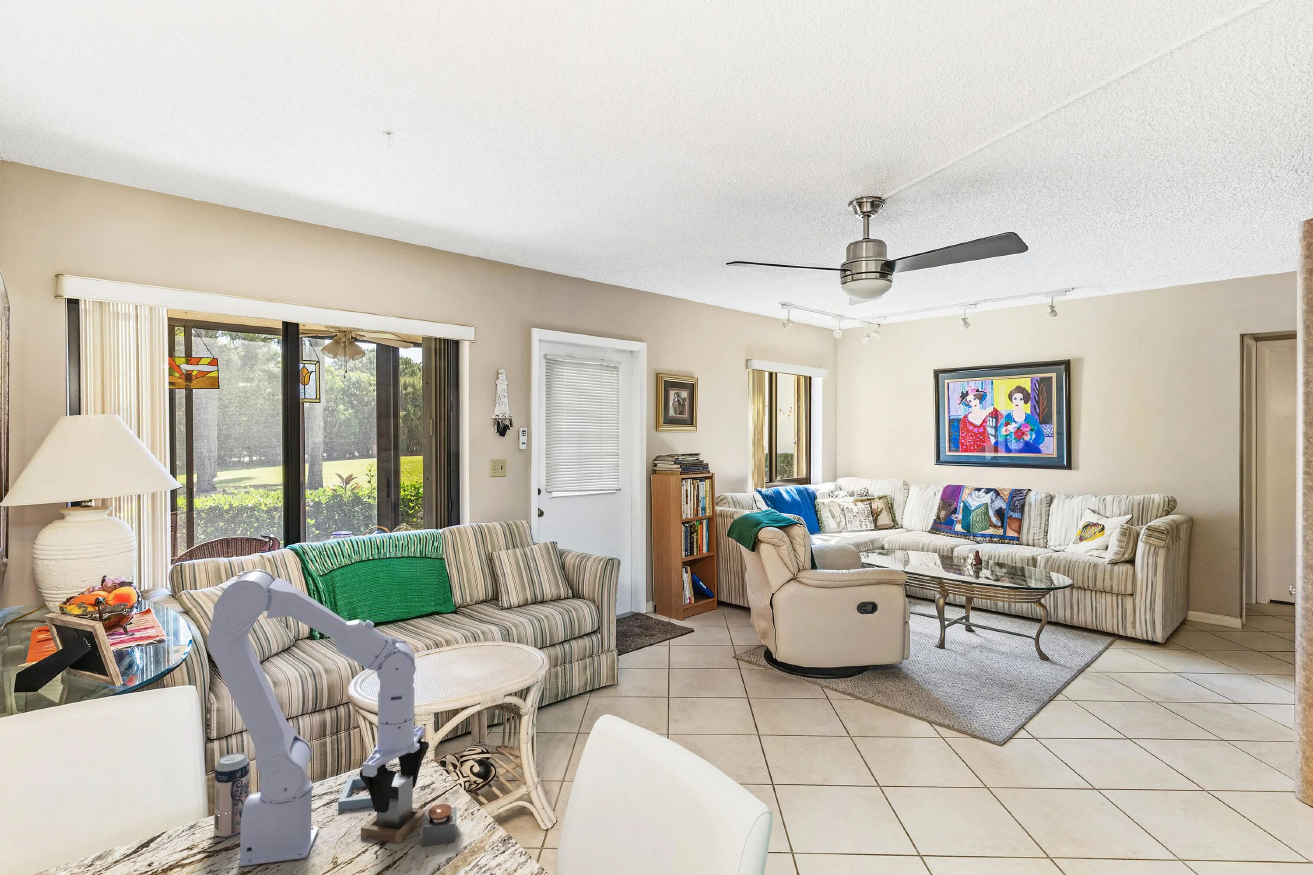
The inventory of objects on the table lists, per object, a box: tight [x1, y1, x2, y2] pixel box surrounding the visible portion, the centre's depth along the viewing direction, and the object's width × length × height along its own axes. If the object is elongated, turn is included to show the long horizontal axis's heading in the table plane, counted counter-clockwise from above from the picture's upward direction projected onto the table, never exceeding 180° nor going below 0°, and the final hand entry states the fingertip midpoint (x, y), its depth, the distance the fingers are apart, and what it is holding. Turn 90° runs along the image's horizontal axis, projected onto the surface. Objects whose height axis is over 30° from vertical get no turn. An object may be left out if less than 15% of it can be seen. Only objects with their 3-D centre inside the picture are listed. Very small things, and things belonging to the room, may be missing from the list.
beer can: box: [213, 752, 250, 838], centre depth 110 cm, size 5×5×12 cm
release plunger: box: [428, 803, 452, 823], centre depth 110 cm, size 4×4×4 cm
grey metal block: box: [376, 772, 414, 830], centre depth 112 cm, size 4×4×8 cm
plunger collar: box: [421, 806, 457, 847], centre depth 110 cm, size 5×5×3 cm
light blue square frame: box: [337, 776, 373, 811], centre depth 122 cm, size 9×9×2 cm
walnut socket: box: [360, 807, 428, 844], centre depth 112 cm, size 7×7×2 cm
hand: (395, 798), depth 112 cm, fingers open, 7 cm apart
